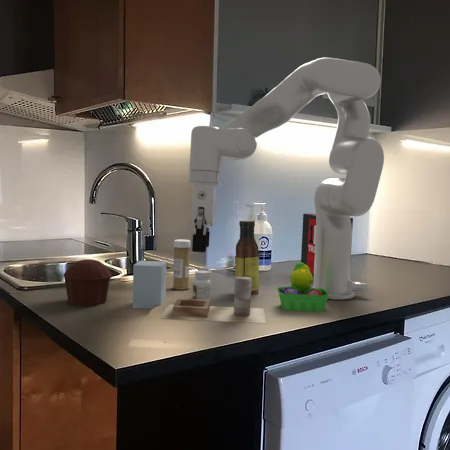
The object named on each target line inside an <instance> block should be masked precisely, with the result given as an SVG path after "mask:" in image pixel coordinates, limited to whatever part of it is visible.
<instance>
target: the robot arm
mask: <svg viewBox="0 0 450 450" xmlns="http://www.w3.org/2000/svg"><path fill="white" fill-rule="evenodd" d="M381 80H382V78H381V75H380V72H379V70H378V69H377V68H376V67H375V66H373V65H372V64H370V63H366V62H360V61H354V60H346V59H342V58H341V59H340V58H335V57H334V58H333V57H321V58H316V59H315V60H311V61H309V62H306V63H304V64H302V65H300V66H299V67H297V68H296V69H294V71H292V73H290V74H289V75H288V76H286V77H285V78H284V80H282V81H281V82H280V83H278V85H277V86H276V87H274V88H273V89H272V90H270V91H268V93H266V95H264V96H263V97H262V98H260V99H259V100H258V101H256V102H255V103H254V104H253V105H251V106H250V107H249V108H247V109H246V110H244V111H243V112H242V113H240V114H239V115H238V116H236V117H235V118H233V119H232V121H230V122H229V123H227V125H226V126H224V128H220V127H218V126H212V125H196V126H194V127H193V128H192V130H191V134H190V152H189V153H190V154H189V169H188V170H189V172H188V173H189V174H188V184H190V185H193V187H192V189H193V190H192V203H191V204H192V205H191V209H192V210H191V213H192V214H191V223H192V225H193V226H194V227H193V234H192V245H191V246H192V247H191V251H192V252H193V253H206V251H207V248H209V247H210V236H211V235H210V234H211V231H210V228H212V227H213V226H214V225H215V220H216V219H215V217H216V200H217V199H216V194H217V191H216V186H221V175H222V174H221V171H222V160H223V161H236V160H237V161H238V160H245V159H248V158H250V157H252V155H253V154H254V153H255V152H256V150H257V147H258V141H257V138H259V137H260V136H262V135H264V134H266V133H267V132H269V131H272V130H274V129H277V128H279V127H281V126H283V125H285V124H286V123H287V122H289V121H290V120H291V119H292V118H294V117H295V116H296V115H297V114H298V113H299V112H300V111H301V110H303V108H304V107H306V106H307V105H308V104H309V103H310V102H311V101H313V100H314V99H315V98H316V97H318V96H320V95H325V94H327V96H328V98H329V100H330V101H331V103H332V104H333V106H334V107H335V110H336V112H337V125H336V130H335V133H334V137H333V141H332V145H331V147H330V148H331V149H330V152H329V159H328V164H329V167H330V168H331V170H332V171H334V172H335V173H337V174H340V175H345V177H344V178H343V177H342V178H341V177H335V178H334V177H333V178H327V179H325V180H323V181H322V182H321V183H319V184H318V186H317V187H316V188H315V192H314V196H313V197H314V199H313V201H314V208H315V214H316V243H315V262H314V279H313V281H312V284H313V285H312V286H311V287H312V288H323V289H325V290H326V292H327V293H328V294H329V296H328V299H327V300H339V301H340V300H341V301H342V300H350V299H353V298H355V291H356V290H358V291H359V290H360V291H367V290H368V284H367V282H359V281H353V280H352V279H351V277H350V274H351V273H350V272H351V262H350V260H351V261H352V245H351V243H353V242H352V240H353V228H352V224H351V220H350V218H351V217H361V216H363V215H365V214H367V213H368V212H369V210H370V209H371V208H372V206H373V205H374V201H375V198H376V196H377V192H378V187H379V184H380V180H381V175H382V172H383V168H384V163H385V155H384V150H383V147H382V145H381V143H380V142H379V141H378V140H377V139H375V138H373V137H369V132H370V128H371V115H370V111H369V109H368V106H367V104H366V102H365V101H364V100H367V99H369V98H372V97H374V96H375V95H376V94H377V92H378V91H379V90H380V88H381V84H382V82H381ZM349 277H350V278H349Z"/></svg>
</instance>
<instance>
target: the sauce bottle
mask: <svg viewBox="0 0 450 450" xmlns="http://www.w3.org/2000/svg"><path fill="white" fill-rule="evenodd" d="M238 224H239V225H238V226H239V239H238V240H237V242H236V244H235V256H234V258H235V262H234V263H235V265H234V267H235V271H234V273H235V274H234V275H235V276H234V279H235V278H236V277H248V278H251V296H253V295H255V296H256V295H257V296H258V295H259V289H260V254H259V246H258V244H257V241H256V238H255V225H256V221H255V220H253V219H252V220H251V219H242V220H239V223H238Z"/></svg>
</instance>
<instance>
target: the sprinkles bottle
mask: <svg viewBox="0 0 450 450" xmlns="http://www.w3.org/2000/svg"><path fill="white" fill-rule="evenodd" d="M190 248H191V240H190V239H184V238H183V239H181V238H179V239H174V240H173V272H172V273H173V275H172V276H173V280H172V281H173V285H172V288H173V289H174V290H178V291H179V290H180V291H185V290H188V289H190V284H189V283H190V281H189V280H190Z"/></svg>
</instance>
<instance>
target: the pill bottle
mask: <svg viewBox="0 0 450 450" xmlns="http://www.w3.org/2000/svg"><path fill="white" fill-rule="evenodd" d="M194 275H195V276H194V278H195V279H194V280H193V282H192V299H198V300H210V301H211V297H212V296H211V293H212V291H211V290H212V289H211V288H212V282H211V280H210V279H209V278H210V271H209V270H196V271H195V272H194Z"/></svg>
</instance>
